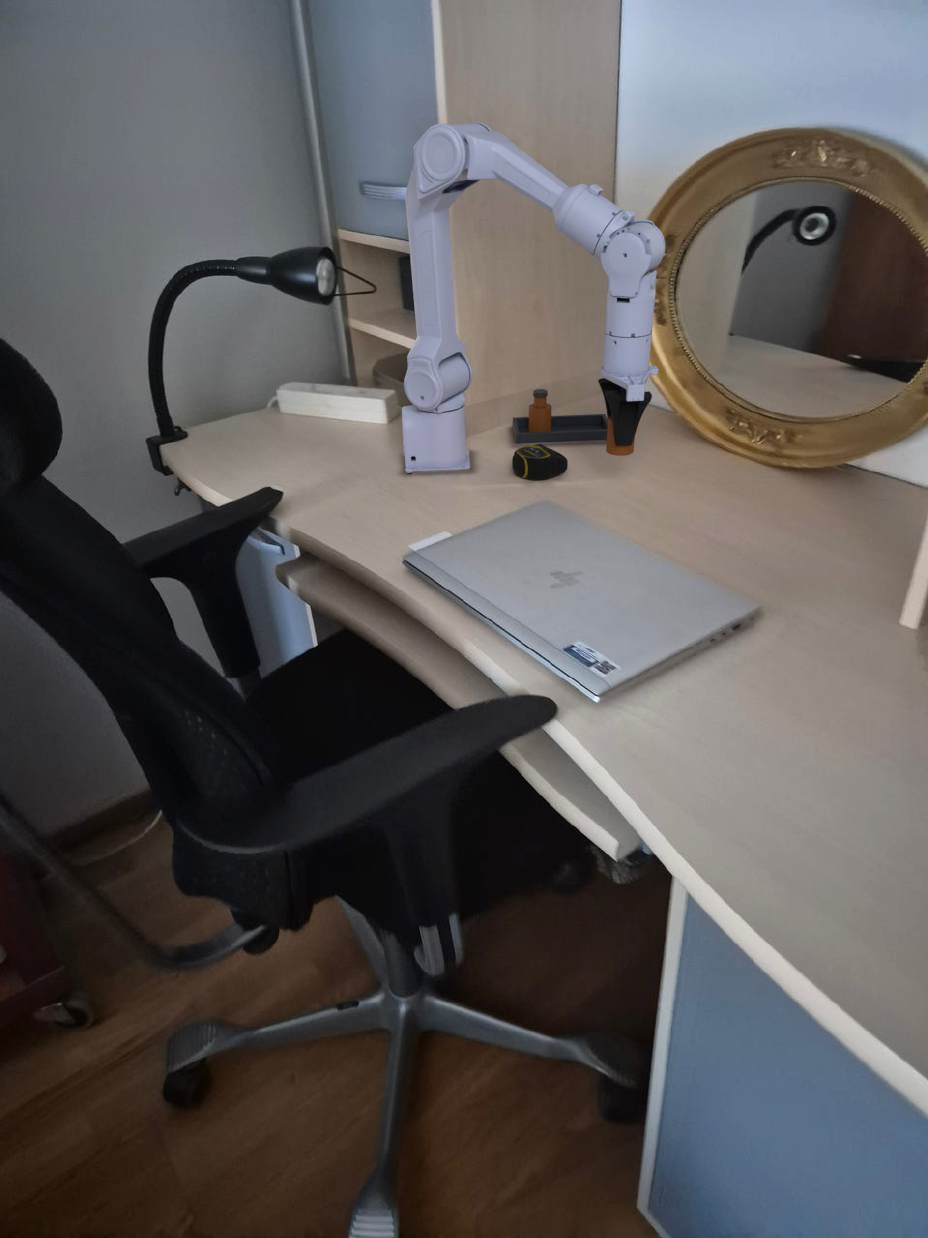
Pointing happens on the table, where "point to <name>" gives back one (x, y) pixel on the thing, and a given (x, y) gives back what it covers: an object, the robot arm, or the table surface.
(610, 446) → the amber bottle
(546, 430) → the row bottle
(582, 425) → the tray
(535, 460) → the tape measure
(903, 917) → the table surface
